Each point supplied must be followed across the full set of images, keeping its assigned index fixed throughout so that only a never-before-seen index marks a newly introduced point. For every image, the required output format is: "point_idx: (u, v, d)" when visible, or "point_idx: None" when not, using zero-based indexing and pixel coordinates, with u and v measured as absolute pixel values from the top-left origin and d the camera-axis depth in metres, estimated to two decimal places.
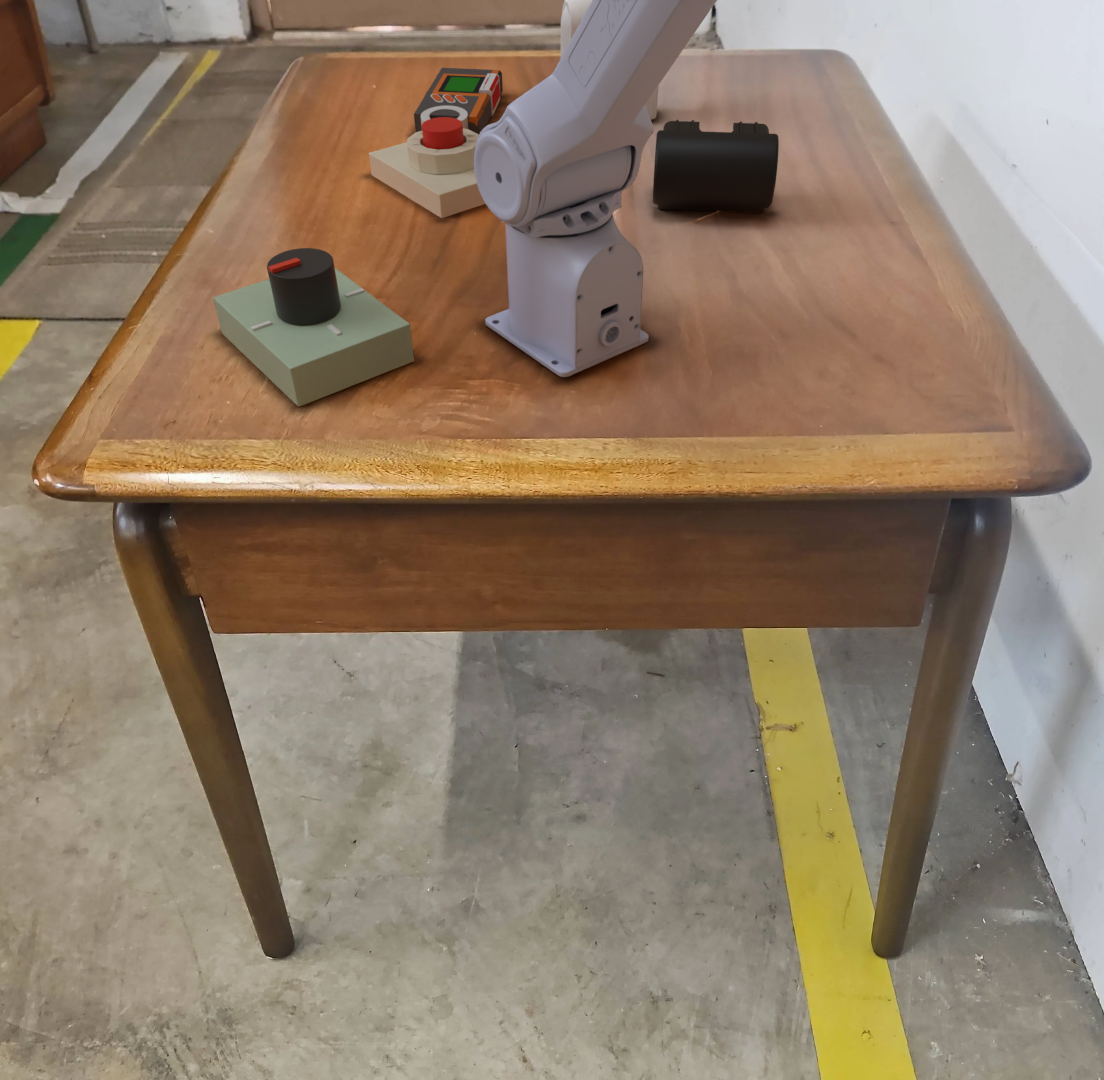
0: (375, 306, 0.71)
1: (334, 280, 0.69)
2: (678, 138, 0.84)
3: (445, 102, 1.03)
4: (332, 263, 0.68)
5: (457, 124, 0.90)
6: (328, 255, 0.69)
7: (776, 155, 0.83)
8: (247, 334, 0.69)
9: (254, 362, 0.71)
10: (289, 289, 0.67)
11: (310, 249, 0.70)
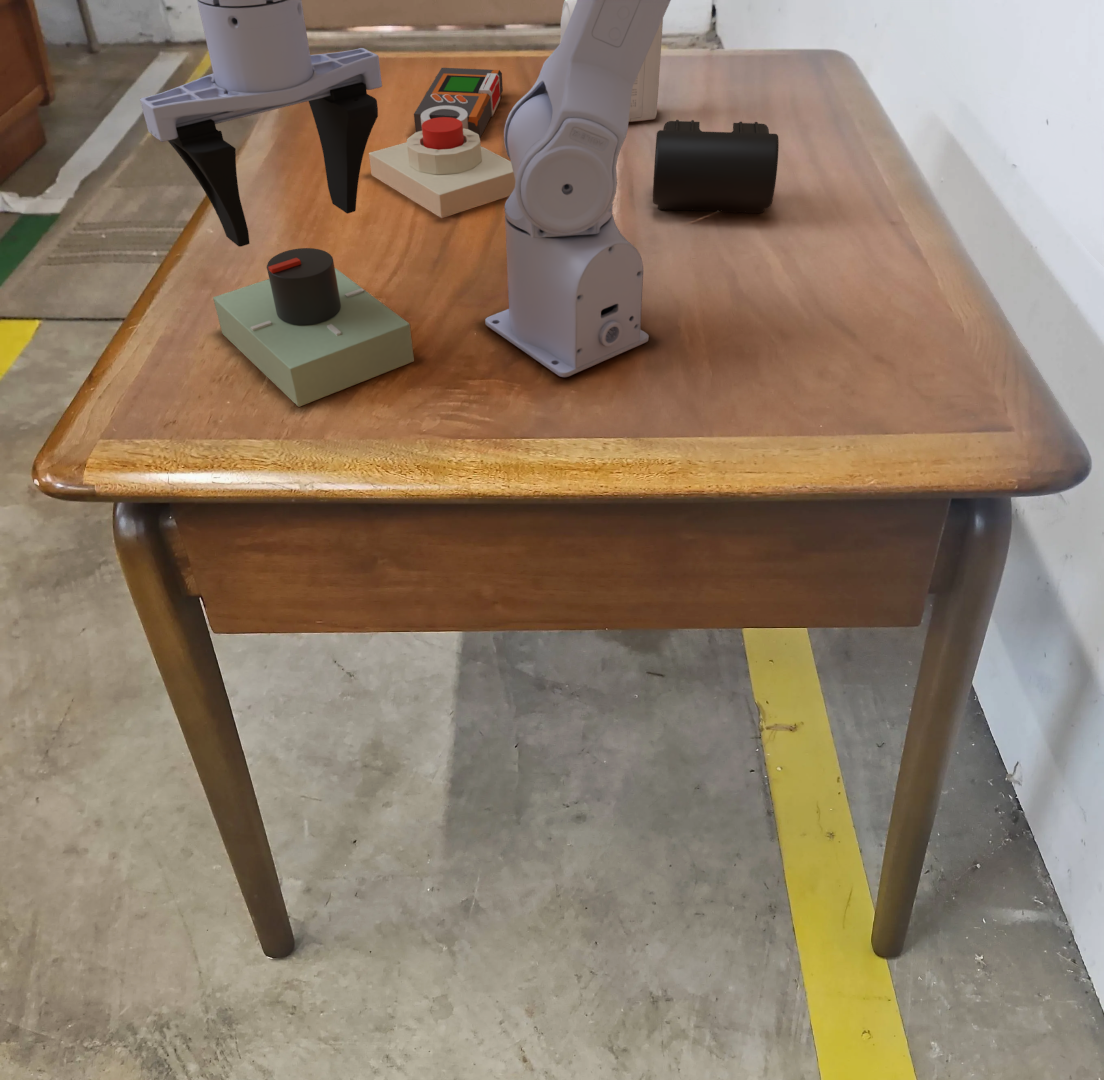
0: (375, 306, 0.71)
1: (334, 280, 0.69)
2: (678, 138, 0.84)
3: (445, 102, 1.03)
4: (332, 263, 0.68)
5: (457, 124, 0.90)
6: (328, 255, 0.69)
7: (776, 155, 0.83)
8: (247, 334, 0.69)
9: (254, 362, 0.71)
10: (289, 289, 0.67)
11: (310, 249, 0.70)
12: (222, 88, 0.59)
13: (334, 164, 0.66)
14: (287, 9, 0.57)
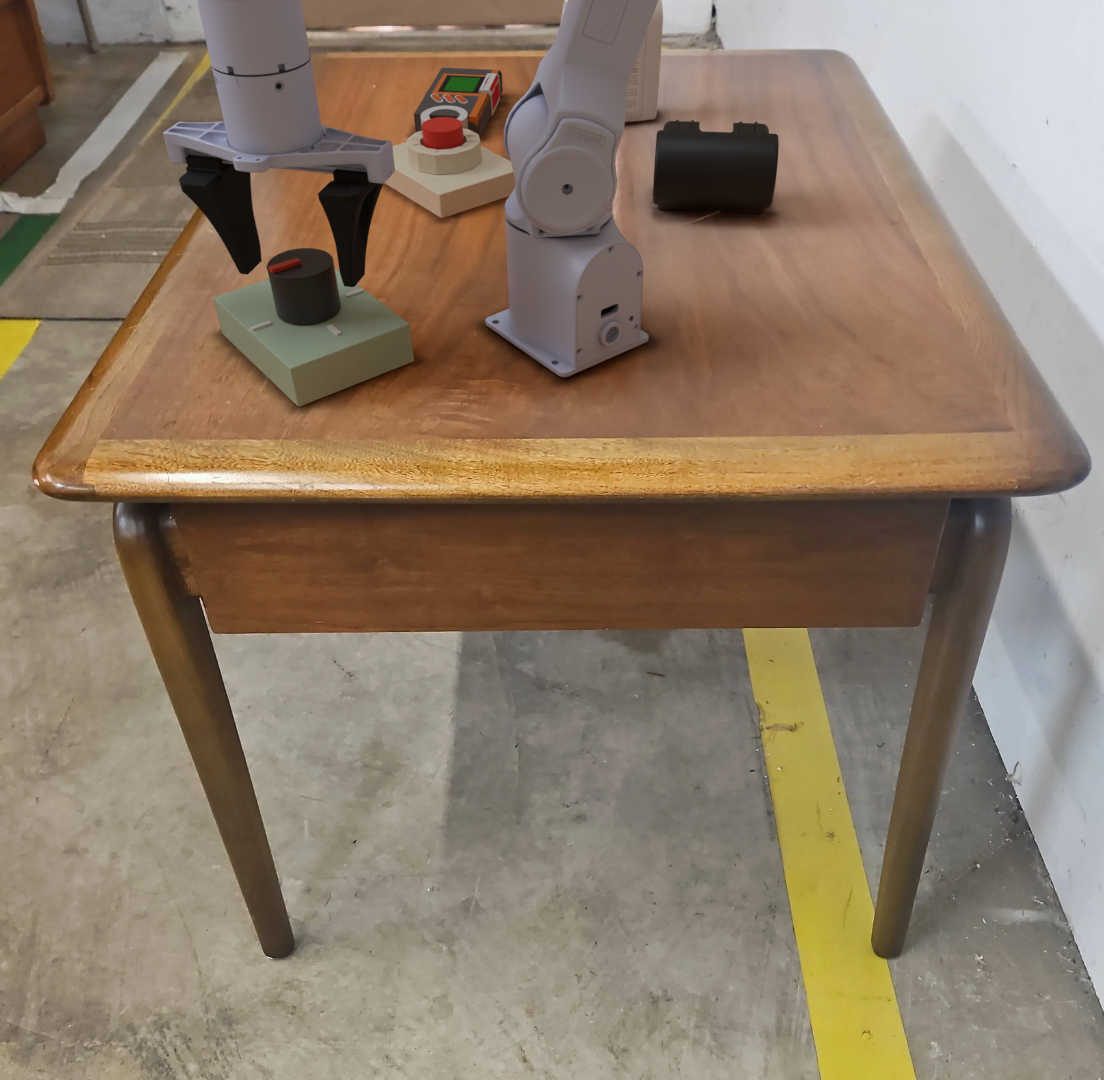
0: (375, 306, 0.71)
1: (334, 280, 0.69)
2: (678, 138, 0.84)
3: (445, 102, 1.03)
4: (332, 263, 0.68)
5: (457, 124, 0.90)
6: (328, 255, 0.69)
7: (776, 155, 0.83)
8: (247, 334, 0.69)
9: (254, 362, 0.71)
10: (289, 289, 0.67)
11: (310, 249, 0.70)
12: (322, 137, 0.63)
13: (242, 227, 0.68)
14: None
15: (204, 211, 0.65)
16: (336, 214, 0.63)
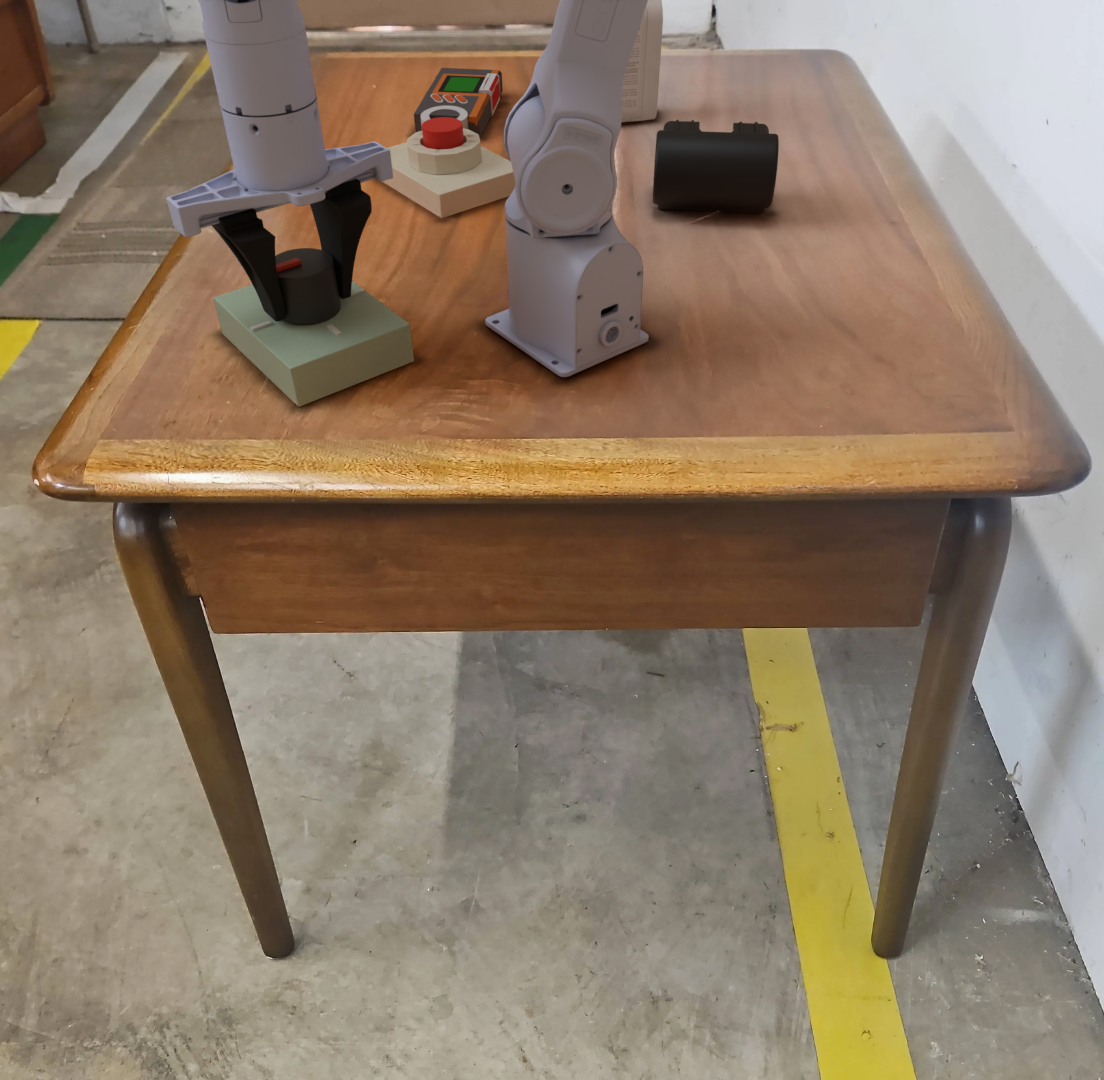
0: (375, 306, 0.71)
1: (334, 280, 0.69)
2: (678, 138, 0.84)
3: (445, 102, 1.03)
4: (332, 263, 0.68)
5: (457, 124, 0.90)
6: (328, 255, 0.69)
7: (776, 155, 0.83)
8: (247, 334, 0.69)
9: (254, 362, 0.71)
10: (289, 289, 0.67)
11: (310, 249, 0.70)
12: None
13: None
14: None
15: (256, 266, 0.64)
16: (352, 225, 0.67)
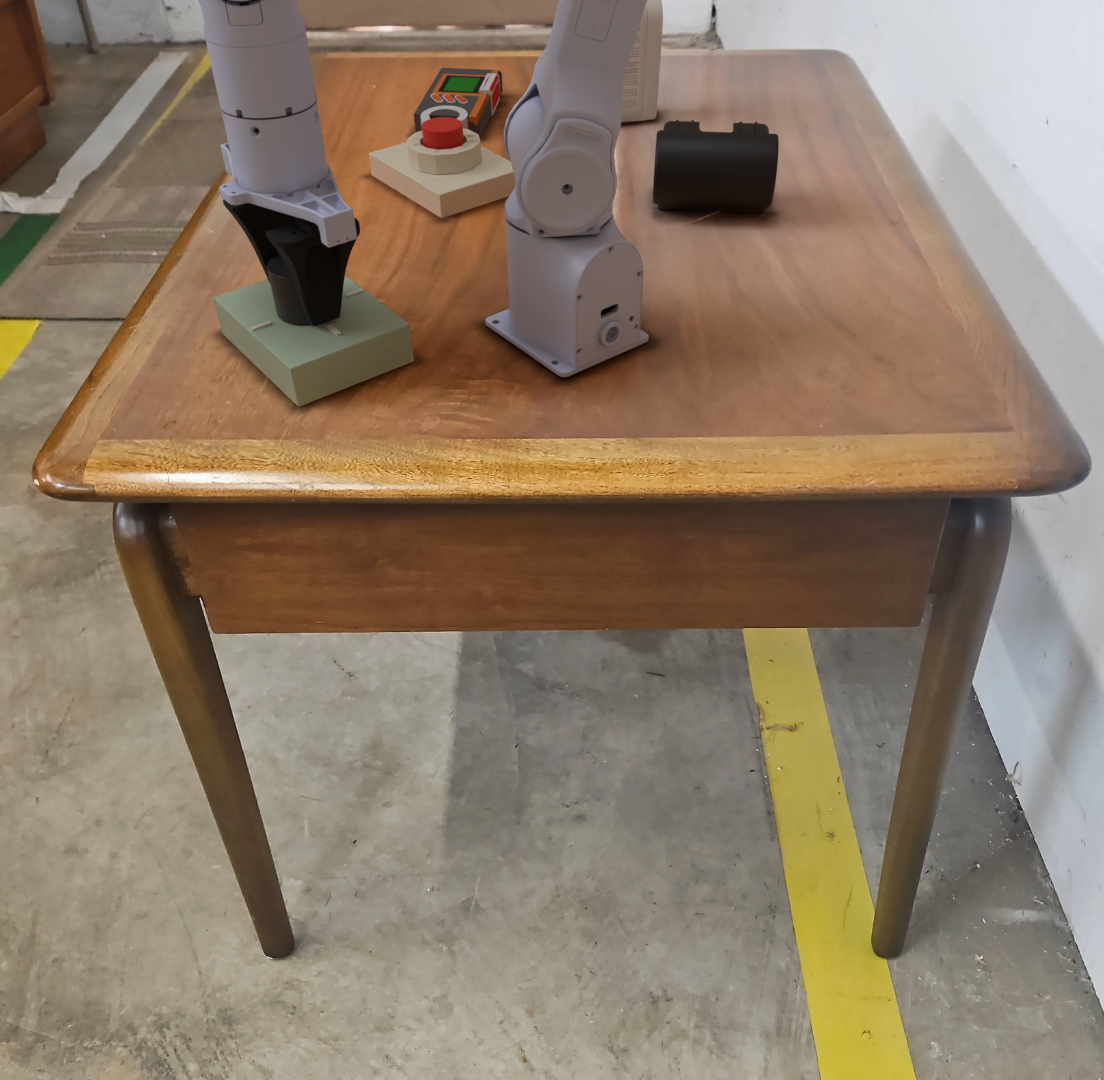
0: (375, 306, 0.71)
1: (294, 294, 0.68)
2: (678, 138, 0.84)
3: (445, 102, 1.03)
4: None
5: (457, 124, 0.90)
6: None
7: (776, 155, 0.83)
8: (247, 334, 0.69)
9: (254, 362, 0.71)
10: None
11: None
12: (312, 187, 0.63)
13: None
14: None
15: (244, 230, 0.69)
16: (282, 255, 0.64)
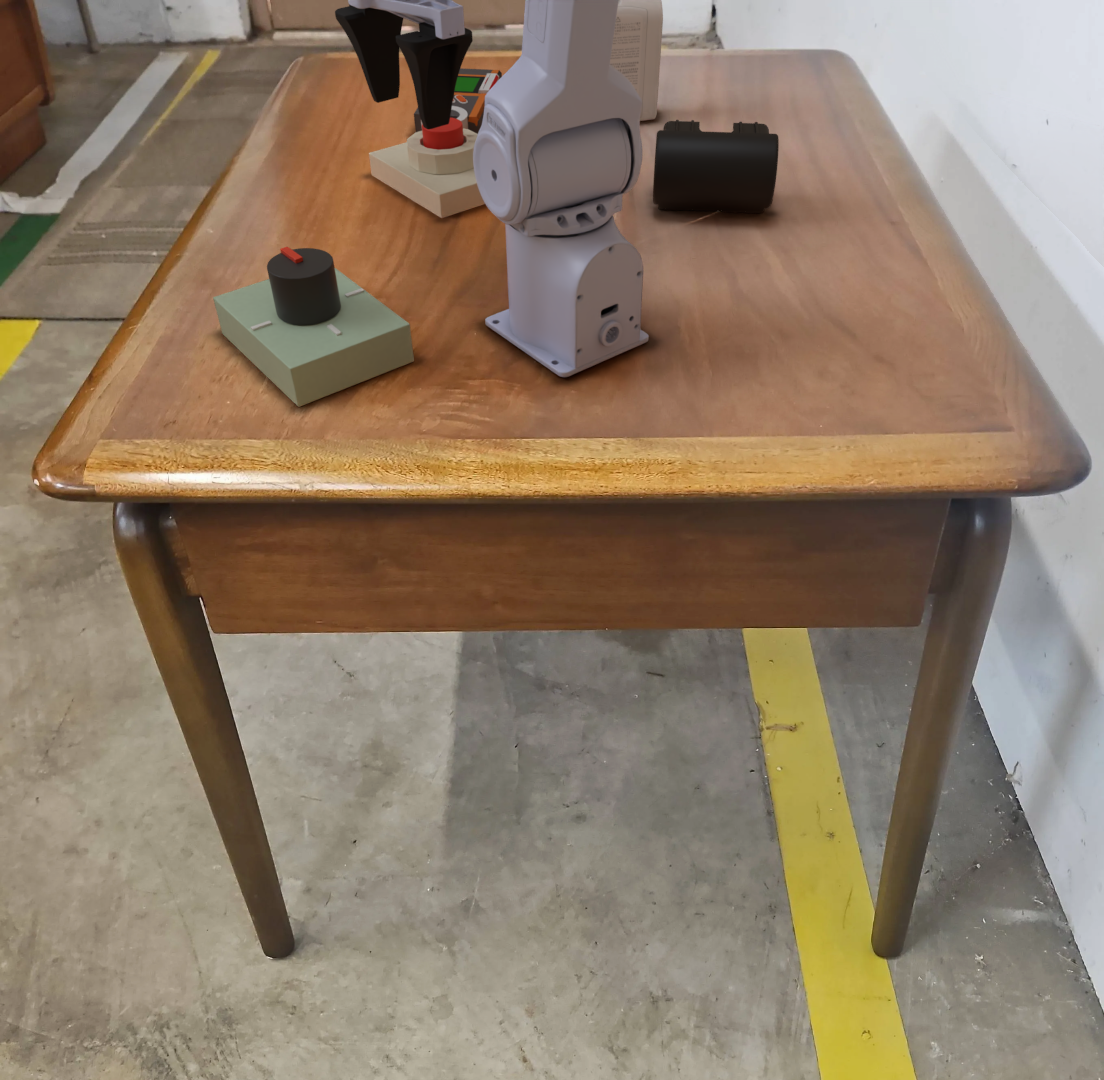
0: (375, 306, 0.71)
1: (294, 294, 0.68)
2: (678, 138, 0.84)
3: None
4: (295, 279, 0.67)
5: (457, 124, 0.90)
6: (311, 274, 0.67)
7: (776, 155, 0.83)
8: (247, 334, 0.69)
9: (254, 362, 0.71)
10: None
11: (328, 264, 0.68)
12: None
13: (381, 63, 0.83)
14: None
15: (350, 40, 0.82)
16: (409, 58, 0.76)
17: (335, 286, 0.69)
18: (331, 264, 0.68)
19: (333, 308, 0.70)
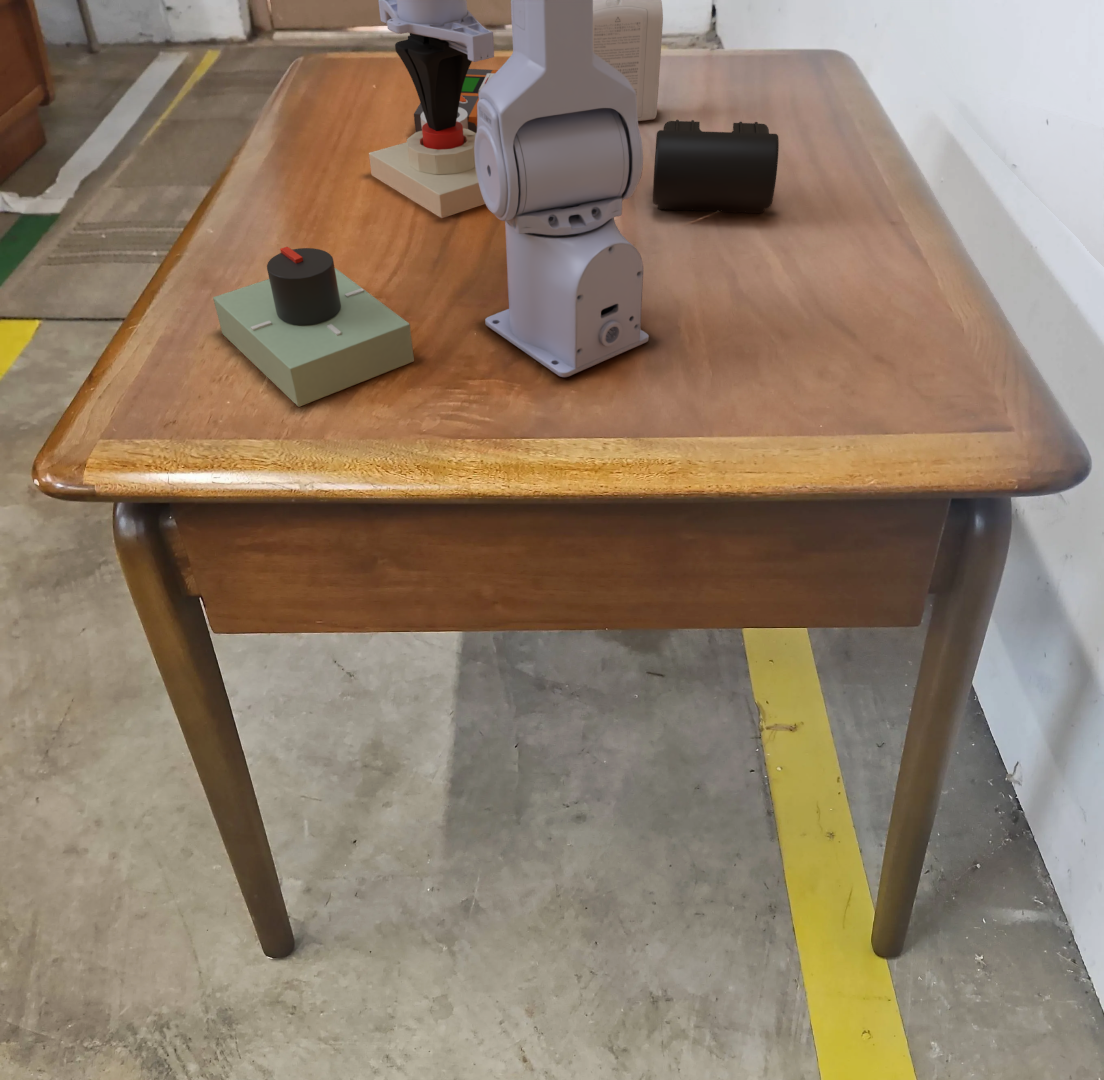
0: (375, 306, 0.71)
1: (294, 294, 0.68)
2: (678, 138, 0.84)
3: None
4: (295, 279, 0.67)
5: (457, 127, 0.90)
6: (311, 274, 0.67)
7: (776, 155, 0.83)
8: (247, 334, 0.69)
9: (254, 362, 0.71)
10: None
11: (328, 264, 0.68)
12: (457, 20, 0.83)
13: None
14: None
15: (409, 71, 0.87)
16: (419, 67, 0.85)
17: (335, 286, 0.69)
18: (331, 264, 0.68)
19: (333, 308, 0.70)
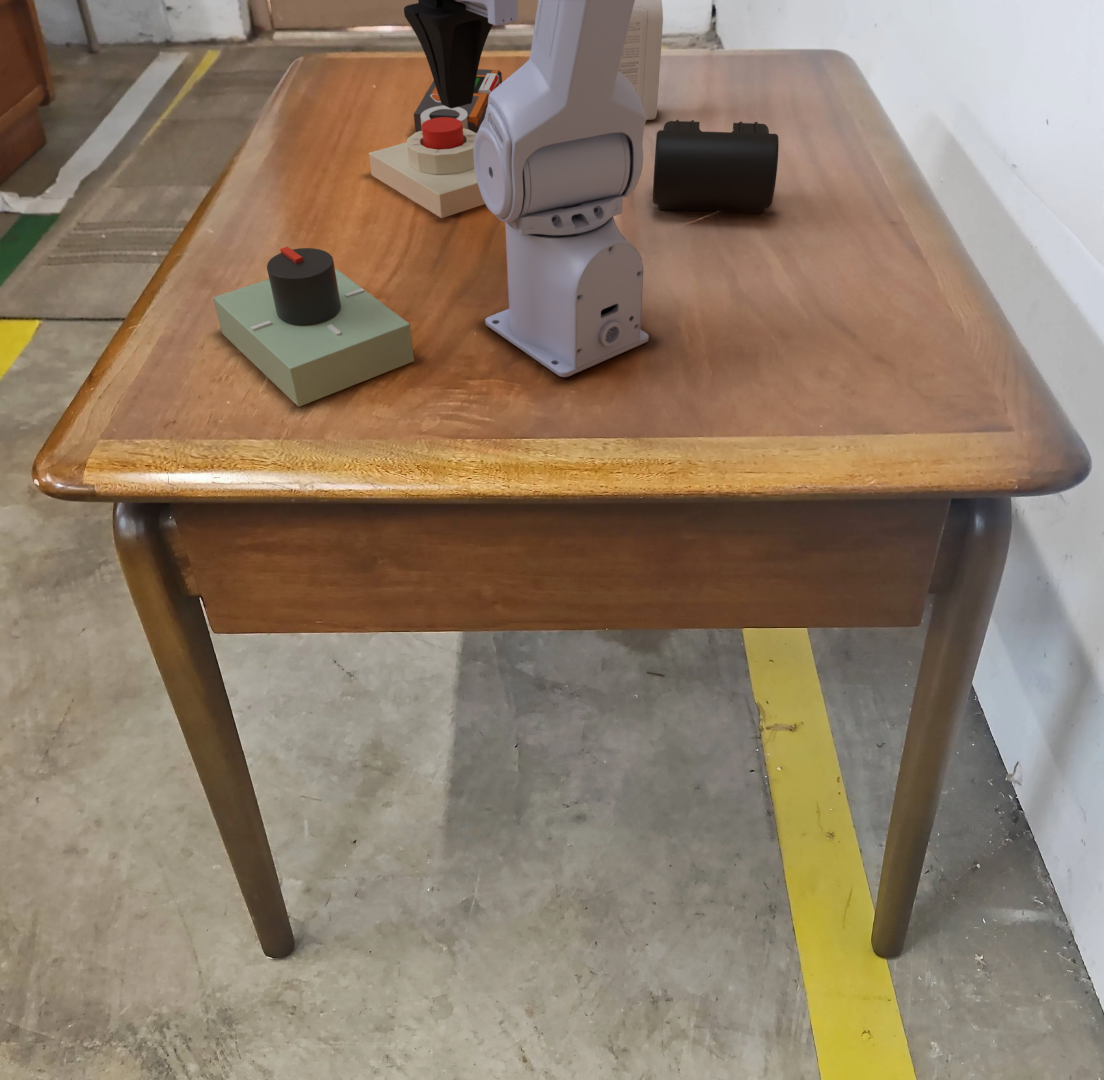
0: (375, 306, 0.71)
1: (294, 294, 0.68)
2: (678, 139, 0.84)
3: None
4: (295, 279, 0.67)
5: (457, 124, 0.90)
6: (311, 274, 0.67)
7: (776, 155, 0.83)
8: (247, 334, 0.69)
9: (254, 362, 0.71)
10: None
11: (328, 264, 0.68)
12: None
13: None
14: None
15: (419, 39, 0.76)
16: (432, 34, 0.74)
17: (335, 286, 0.69)
18: (331, 264, 0.68)
19: (333, 308, 0.70)
